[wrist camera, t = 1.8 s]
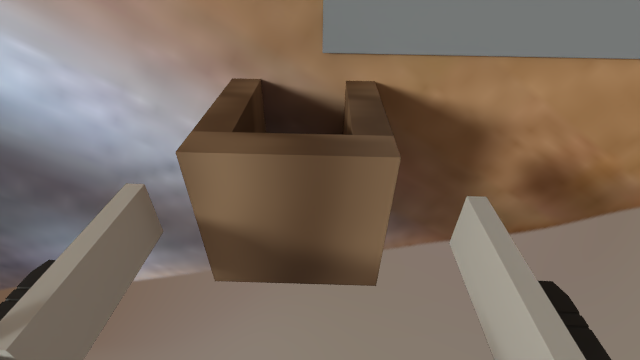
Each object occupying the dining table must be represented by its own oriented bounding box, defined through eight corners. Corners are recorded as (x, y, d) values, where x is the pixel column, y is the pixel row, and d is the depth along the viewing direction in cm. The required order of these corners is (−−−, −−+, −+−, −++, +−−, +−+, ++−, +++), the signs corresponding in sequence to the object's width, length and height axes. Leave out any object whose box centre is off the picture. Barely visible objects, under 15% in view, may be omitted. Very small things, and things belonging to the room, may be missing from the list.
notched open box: (248, 184, 21) (214, 280, 15) (232, 78, 16) (175, 152, 10) (362, 187, 20) (375, 285, 14) (374, 81, 16) (400, 157, 10)
